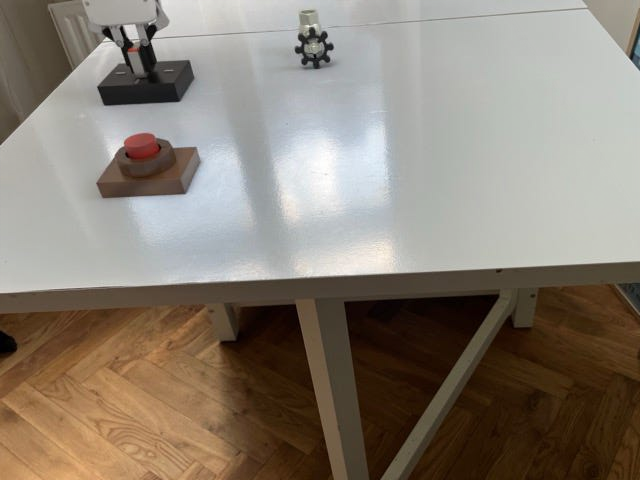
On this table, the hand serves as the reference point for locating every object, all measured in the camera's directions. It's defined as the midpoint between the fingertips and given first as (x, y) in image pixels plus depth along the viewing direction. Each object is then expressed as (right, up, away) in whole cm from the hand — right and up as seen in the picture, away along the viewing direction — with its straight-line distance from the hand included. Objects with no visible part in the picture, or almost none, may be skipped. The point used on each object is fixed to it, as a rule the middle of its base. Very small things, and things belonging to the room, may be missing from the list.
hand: (143, 69), depth 88 cm
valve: (+26, +6, +11) cm, 29 cm away
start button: (+10, -19, -22) cm, 30 cm away
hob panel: (0, -3, +2) cm, 4 cm away
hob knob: (0, 0, 0) cm, 1 cm away
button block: (+10, -22, -19) cm, 31 cm away
